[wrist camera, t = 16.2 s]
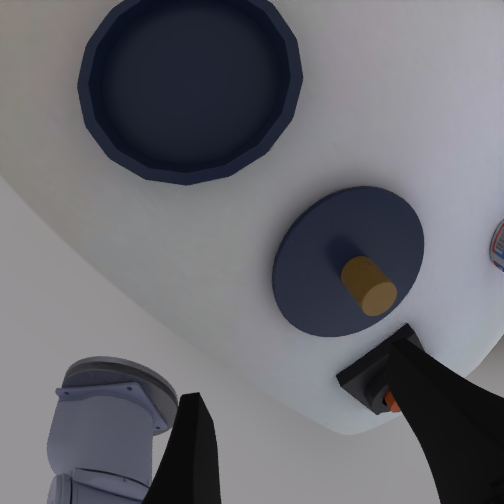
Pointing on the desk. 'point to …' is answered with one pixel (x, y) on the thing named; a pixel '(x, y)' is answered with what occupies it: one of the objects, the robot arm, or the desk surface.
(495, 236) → the pill bottle
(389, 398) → the button
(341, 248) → the tin lid
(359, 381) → the control block
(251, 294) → the desk surface
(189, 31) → the tin
